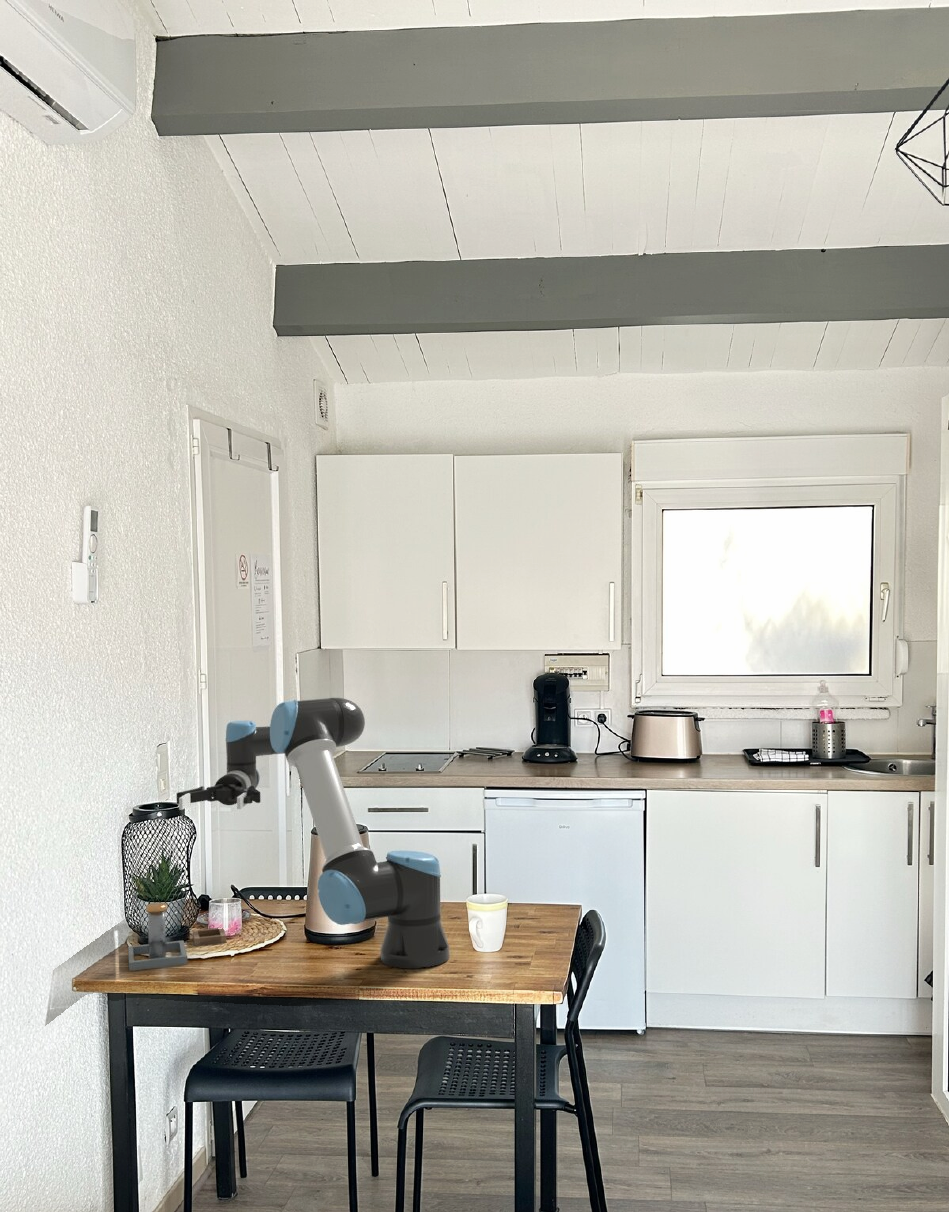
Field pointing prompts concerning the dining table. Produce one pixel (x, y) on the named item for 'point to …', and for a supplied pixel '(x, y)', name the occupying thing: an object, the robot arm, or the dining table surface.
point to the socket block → (209, 936)
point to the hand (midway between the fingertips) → (209, 803)
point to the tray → (157, 961)
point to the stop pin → (156, 930)
